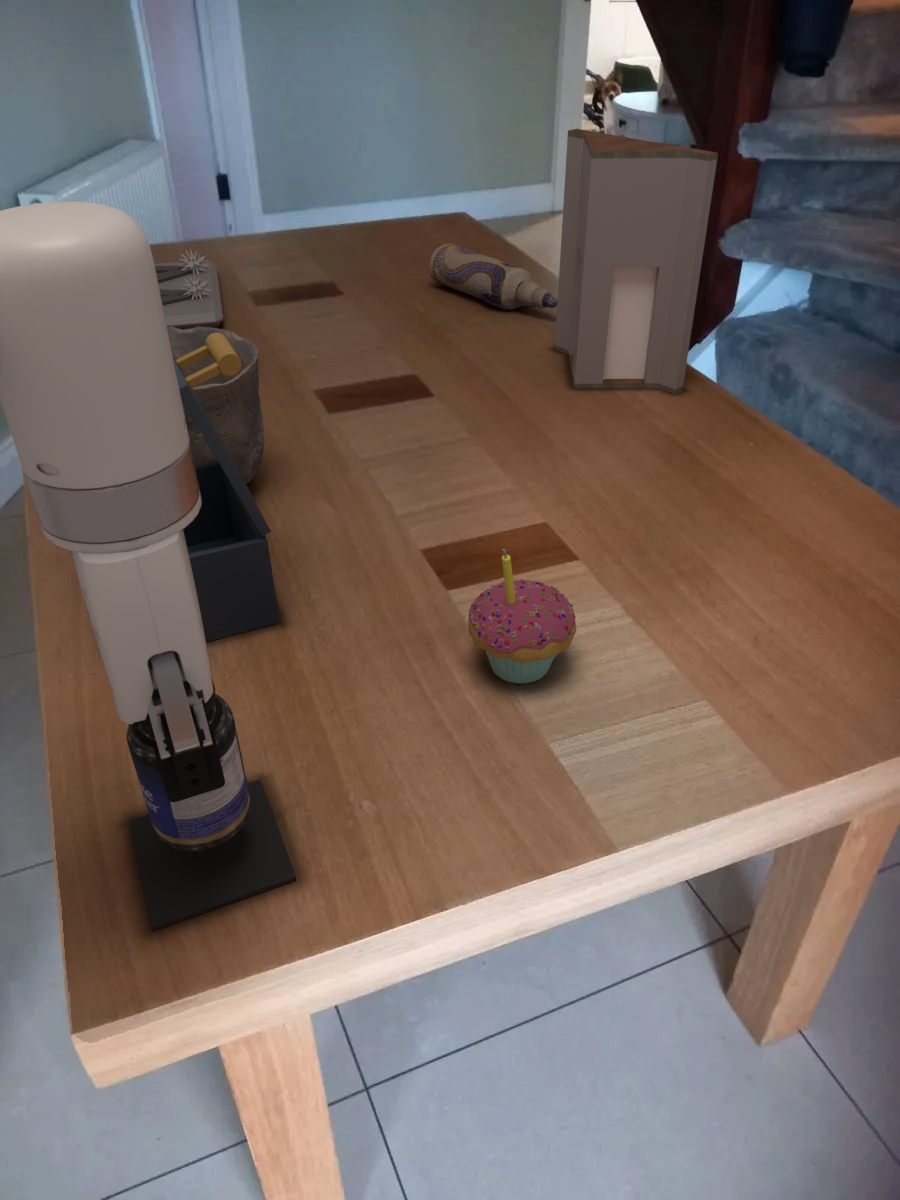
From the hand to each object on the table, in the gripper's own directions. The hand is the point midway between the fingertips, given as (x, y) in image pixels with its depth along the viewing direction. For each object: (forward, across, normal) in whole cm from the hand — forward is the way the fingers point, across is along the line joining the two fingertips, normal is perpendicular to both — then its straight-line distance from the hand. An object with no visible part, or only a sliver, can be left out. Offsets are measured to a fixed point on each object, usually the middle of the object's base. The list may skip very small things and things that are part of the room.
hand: (185, 749), depth 54 cm
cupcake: (+10, -8, +27) cm, 30 cm away
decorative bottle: (+10, -90, +63) cm, 110 cm away
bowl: (+10, -48, +8) cm, 50 cm away
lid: (-6, -29, +8) cm, 31 cm away
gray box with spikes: (+10, -112, +14) cm, 113 cm away
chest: (+9, -30, +4) cm, 31 cm away
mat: (+9, 0, 0) cm, 9 cm away
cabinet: (+10, -56, +63) cm, 85 cm away
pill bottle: (+6, 0, 0) cm, 6 cm away
